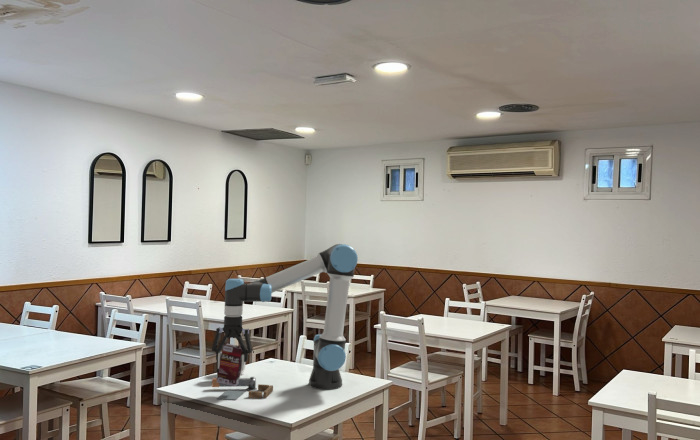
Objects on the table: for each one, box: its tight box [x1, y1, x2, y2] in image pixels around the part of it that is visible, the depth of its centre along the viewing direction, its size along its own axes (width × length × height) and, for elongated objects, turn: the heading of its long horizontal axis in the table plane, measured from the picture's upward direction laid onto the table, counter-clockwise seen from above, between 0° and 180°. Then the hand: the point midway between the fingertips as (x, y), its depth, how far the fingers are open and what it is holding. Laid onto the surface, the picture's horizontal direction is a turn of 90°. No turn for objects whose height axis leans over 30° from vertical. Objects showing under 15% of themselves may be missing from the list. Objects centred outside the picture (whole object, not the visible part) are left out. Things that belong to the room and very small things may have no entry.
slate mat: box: [216, 390, 245, 401], centre depth 238 cm, size 8×12×1 cm, turn 173°
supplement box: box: [216, 342, 244, 387], centre depth 238 cm, size 9×5×16 cm, turn 83°
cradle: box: [246, 383, 274, 399], centre depth 243 cm, size 12×15×2 cm
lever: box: [211, 376, 257, 389], centre depth 248 cm, size 3×19×5 cm, turn 97°
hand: (231, 368), depth 238 cm, fingers closed on supplement box, 10 cm apart
